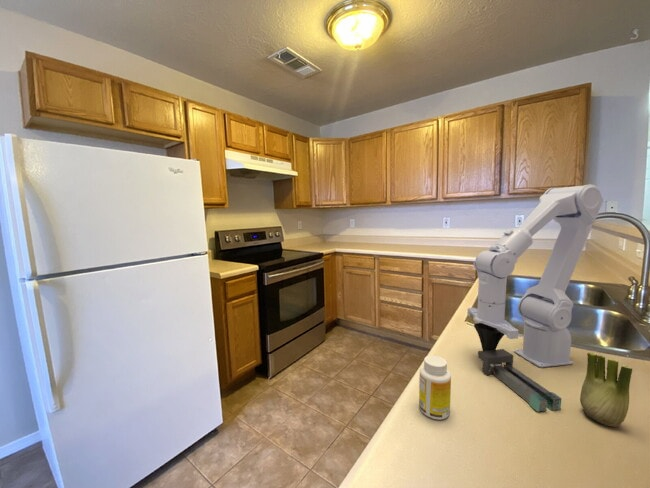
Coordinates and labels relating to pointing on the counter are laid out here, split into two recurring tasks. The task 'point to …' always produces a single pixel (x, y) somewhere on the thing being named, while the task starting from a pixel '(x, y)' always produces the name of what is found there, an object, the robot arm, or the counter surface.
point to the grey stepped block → (494, 358)
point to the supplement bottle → (435, 388)
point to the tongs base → (534, 387)
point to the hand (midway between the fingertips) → (488, 353)
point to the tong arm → (521, 389)
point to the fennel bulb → (605, 390)
